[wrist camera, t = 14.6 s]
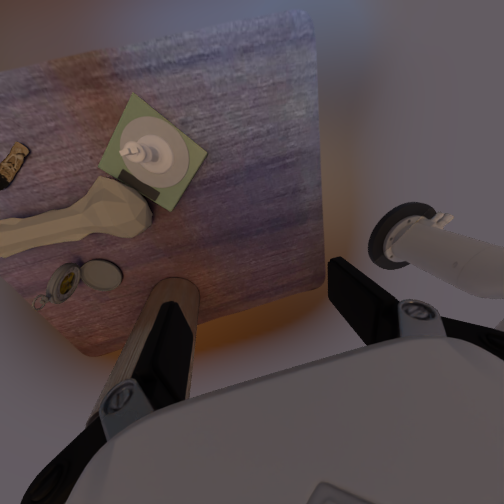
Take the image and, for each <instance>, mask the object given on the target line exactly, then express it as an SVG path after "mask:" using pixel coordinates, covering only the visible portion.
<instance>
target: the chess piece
mask: <svg viewBox="0 0 504 504" xmlns="http://www.w3.org/2000/svg"><path fill="white" fill-rule="evenodd" d="M119 152H120V155H121V156H126V157H127V159H129V160H130V161H131V162H134V163H140V164H141V165H142V166H143V167H144V168H145V169H146V170H148V171H150V172H152V173H155V174H163V173H166V172H168V171H169V170H170V169H171V168H172V166H173V164H174V153H173V150H172V148H171V146H170V145H169V143H168V142H167V141H166V140H164V139H163V138H161V137H159V136H157V135H145V136H143V137H141V138H140V139H139V140H138V142H135V141H129V142H127V143H126V144H125V145H124V148H123V150H121V151H119Z"/></svg>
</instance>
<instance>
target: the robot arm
mask: <svg viewBox="0 0 504 504" xmlns="http://www.w3.org/2000/svg"><path fill="white" fill-rule="evenodd" d="M453 218H454V217H453V216H452V215H450V214H448V213H445V214H443V213H441V212H438V213H437V214H435V215H434V216H433V218H432V219H431V220H428V219H427V218H425V217H423V216H419V215H412V216H408V217H406V218H404V219H402V220H400V221H399V222H398V223H396V224H395V225H394V226H393V227H392V228H391V230H390V231H389V232H388V234H387V236H386V238H385V240H384V244H383V252H384V255H385V256H386V258H388V259H389V260H391V261H393V262H403V261H406V262H408V263H410V264H412V265H414V266H416V267H418V268H420V269H422V270H424V271H426V272H428V273H430V274H432V275H434V276H435V277H437V278H439V279H442V280H443V281H445V282H447V283H449V284H451V285H453V286H455V287H457V288H459V289H461V290H463V291H465V292H467V293H469V294H471V295H474V296H477V297H481V298H490V299H504V247H501V246H497V245H493V244H490V243H487V242H484V241H480V240H477V239H473V238H470V237H466V236H463V235H459V234H456V233H453V232H449V231H446V230H443V229H444V228H443V227H444V226H445V225H446V224H448V223H449V222H450V221H451V220H452V219H453ZM328 297H329V300H330V301H331V302H332V304H333V305H334V306H335V307H336V309H337V310H338V311H339V312H340V314H341V315H342V316H343V317H344V318H345V320H346V321H347V322H348V323H349V325H350V326H351V327H352V328H353V329H354V331H355V332H356V333H357V334H358V336H360V338H361V339H362V340H363V342H364V343H365V344H366V345H367V346H364V347H361V348H357V349H354V350H350V351H347V352H343V353H340V354H336V355H333V356H329V357H326V358H323V359H319V360H316V361H312V362H309V363H305V364H302V365H299V366H295V367H292V368H289V369H285V370H282V371H278V372H275V373H272V374H269V375H265V376H262V377H259V378H255V379H252V380H248V381H245V382H242V383H239V384H235V385H232V386H228V387H225V388H222V389H219V390H215V391H212V392H209V393H205V394H202V395H200V396H196V397H193V398H190V399H187V400H185V397H186V389H187V382H188V375H189V368H190V361H191V354H192V346H193V339H194V337H193V332H192V330H191V328H190V326H189V324H188V322H187V320H186V318H185V316H184V314H183V312H182V310H181V308H180V306H179V304H178V303H177V302H174V301H169V302H165V303H162V305H161V307H160V310H159V312H158V315H157V317H156V319H155V322H154V324H153V327H152V329H151V331H150V332H149V334H148V337H147V339H146V342H145V344H144V347H143V349H142V351H141V354H140V356H139V359H138V361H137V364H136V366H135V369H134V371H133V374H132V376H131V378H129V379H125V380H123V381H121V382H119V383H118V384H116V385H115V386H114V387H113V388H112V389H111V390H110V391H109V392H108V393H107V394H106V395H105V397H104V398H103V400H102V402H101V404H100V407H99V416H98V417H97V418H96V419H95V420H94V421H93V422H92V423H91V424H90V425H89V426H88V427H87V428H86V429H85V430H84V431H83V432H82V433H80V434H79V435H78V436H77V437H76V438H75V439H74V440H73V441H72V442H71V443H70V444H69V445H68V446H67V447H66V448H65V449H64V450H62V451H61V452H60V453H59V454H58V455H57V456H56V457H55V458H54V459H53V460H52V461H51V462H50V463H49V464H48V465H47V466H46V467H45V468H44V469H43V470H42V471H41V472H40V473H39V474H38V475H37V476H36V478H35V479H34V480H33V482H32V483H31V484H30V486H29V488H28V489H27V491H26V493H25V494H24V496H23V499H22V501H21V504H504V319H503V320H502V321H501V322H500V323H499V324H498V325H497V326H496V327H495V328H494V329H492V328H488V327H484V326H480V325H475V324H471V323H467V322H463V321H458V320H454V319H450V318H446V317H441V316H440V314H439V312H438V311H437V310H436V309H435V308H434V307H433V306H431V305H429V304H427V303H425V302H422V301H419V300H413V299H408V300H403V301H401V302H399V301H398V300H397V299H395V297H394V296H392V295H391V294H390V293H388V292H387V291H386V290H384V289H383V288H382V287H380V286H379V285H378V284H376V283H375V282H374V281H373V280H371V279H370V278H368V277H367V276H366V275H365V274H363V273H362V272H361V271H359V270H358V269H357V268H355V267H354V266H353V265H351V264H350V263H349V262H347V261H346V260H345V259H343V258H342V257H336V258H332V259H330V262H328Z"/></svg>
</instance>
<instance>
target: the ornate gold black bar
mask: <svg viewBox="0 0 504 504" xmlns="http://www.w3.org/2000/svg"><path fill="white" fill-rule="evenodd" d="M28 152H29V151H28V149H27V148H26V147H25V146H23V145H22V144H20V143H19V142H15V144H14V146H13V147H12V149H11V152H10V154H8V155H7V156H8V157H6V159H4V161H2V162H1V163H0V190H3V189H4V188H6V187H7V186H8V185H9V183H10V182H11V181H12V180H13V178H14V176H15V174H16V172H17V171H18V170H19V169H20V168H21V165H22V163H23V162H24V161H23V159H24V157H25V156H26V155H27V154H28Z"/></svg>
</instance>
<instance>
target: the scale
mask: <svg viewBox="0 0 504 504" xmlns="http://www.w3.org/2000/svg"><path fill="white" fill-rule="evenodd" d="M145 135H157V136H159V137H161V138H163V139H164V140H166V141H167V142H168V143H169V145H170V146H171V148H172V150H173V153H174V164H173V166H172V168H171V169H170V170H169V171H168V172H166V173H163V174H155V173H152V172H150V171H148V170H146V169H145V168H144V167H143V166H142V165H141V164H140V163H134V162H131V161H130V160H129V159H127V157H126V156H121V155H120V152H119V151H121V150H123V148H124V145H125V144H126V143H127V142H129V141H135V142H138V140H139V139H140V138H141V137H143V136H145ZM207 155H208V153H207V152H206V151H205V150H203V149H202V148H201V147H200V146H199V145H197V144H196V143H195V142H194V141H192V140H191V139H190V138H189V137H187V136H186V135H185V134H184V133H183V132H181V131H180V130H179V129H178V128H176V127H175V126H174V125H173V124H171V123H170V122H169V121H168V120H167V119H165V118H164V117H163V116H162V115H160V114H159V113H158V112H157V111H155V110H154V109H153V108H152V107H151V106H149V105H148V104H147V103H146V102H144V101H143V100H142V99H141V98H139V97H138V96H137V95H136V94H135V93H132V95H131V97H130V99H129V101H128V104H127V106H126V108H125V110H124V112H123V114H122V116H121V118H120V121H119V123H118V125H117V127H116V129H115V131H114V133H113V135H112V138H111V140H110V142H109V144H108V146H107V148H106V150H105V152H104V155H103V157H102V159H101V161H100V163H99V165H98V167H99V168H100V169H102V170H103V171H105V172H107V173H108V174H110V175H112V176H113V177H115V178H116V179H118V180H120V181H121V182H123V183H125V184H126V185H128V186H129V187H131V188H133V189H135V190H137V191H138V192H139V193H141V194H142V195H144V196H146V197H147V198H149V199H151V200H152V201H154V202H155V203H157V204H159V205H160V206H162V207H164V208H165V209H167V210H168V211H170V212H171V211H172V210H173V209H174V208H175V206H176V205H177V203H178V201H179V200H180V198H181V197H182V195H183V193H184V192H185V190H186V189H187V187H188V185H189V184H190V182H191V181H192V179H193V177H194V176H195V174H196V172H197V171H198V169H199V168H200V166H201V164H202V163H203V161H204V160H205V158H206V156H207Z"/></svg>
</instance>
